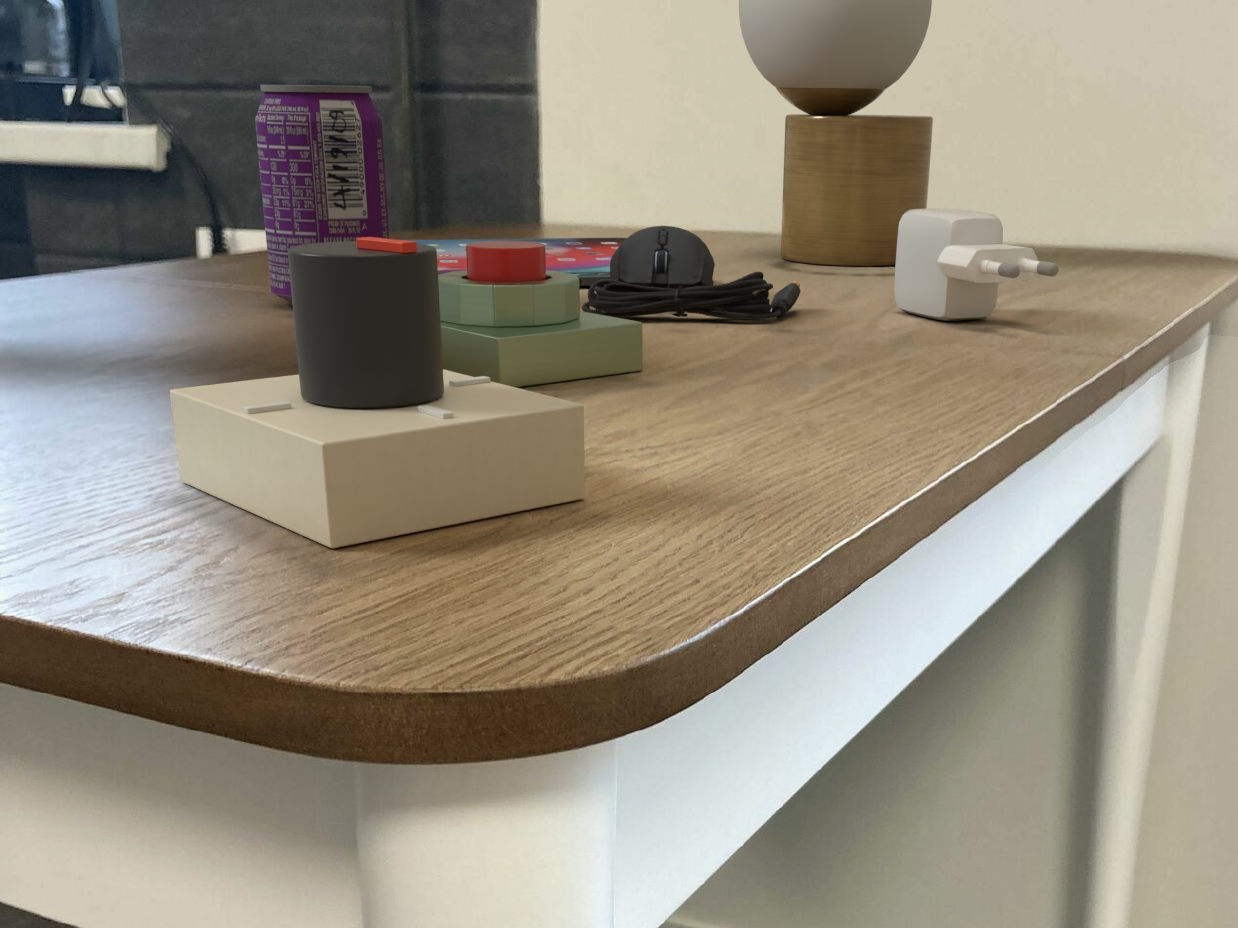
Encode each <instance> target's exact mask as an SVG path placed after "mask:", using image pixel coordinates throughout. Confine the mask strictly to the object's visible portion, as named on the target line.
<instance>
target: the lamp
mask: <svg viewBox="0 0 1238 928" xmlns="http://www.w3.org/2000/svg"><path fill="white" fill-rule="evenodd" d="M932 7H933V0H738V18H739V19H738V20H739V27H740V31H741V35H742V40H743V43H744V46H745V48H746V51H747V53H748V56H749V57H750V59H751V61H752V63H753V65H754V66H755V67H756V69H757V70H758V72H759V73H760V74H761V76H762V77H763V78H764V79H765V80H766V81H767V82H768V83H770V84H771V85H772V86H773V87H774V88H775V89H776V91H777V92H778V93H779V94H780V96H781V97H782V98H783V99H784V100H786V101H787V102H788V103H789V104H791V105H792V106H793V107H794V108H796V109H798V110H799V111H801V112H802V113H797V114H796V113H795V114H794V113H793V114H786V115H785V119H784V120H785V121H784V122H785V123H784V125H785V126H784V147H783V148H784V150H783V152H784V153H783V176H782V177H783V178H782V179H783V180H782V183H783V184H782V203H781V204H782V207H781V235H780V257H781V259H784V260H786V261H789V262H794V263H801V264H802V263H803V264H810V265H822V266H823V265H824V266H839V267H840V266H842V267H889V266H895V265H896V250H897V238H898V228H899V222H900V220H901V217H902V215H903V214H904V213H905V212H907V211H909V210H913V209H928V197H929V185H930V184H929V182H930V171H931V170H930V169H931V158H932V157H931V155H932V144H933V143H932V141H933V127H934V117H933V116H930V115H929V116H928V115H904V114H903V115H899V114H894V115H893V114H855V113H857V112H859V111H861V110H863V109H864V108H866V107H868V106H869V105H871V104H872V103H873V102H875V101H876V100H877V99H878V98H880V97H881V95H883V93H884V92H885V91H886V90H887V89H888V88H890V87H891V86H893V85H894V84H895V83H896V82H897V81H898V80H900V79H901V77H903V75H904V74H905V73H906V72H907V71H908V69H909V68H910V67H911V65H912V64H913V62H914V61H915V59H916V57H917V55H918V54H919V52H920V50H921V48H922V45H923V43H924V41H925V38H926V35H927V32H928V29H929V25H930V20H931V15H932Z"/></svg>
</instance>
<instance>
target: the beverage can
mask: <svg viewBox="0 0 1238 928" xmlns="http://www.w3.org/2000/svg"><path fill="white" fill-rule="evenodd" d="M259 86H260V92H263V95H262V98H261V101H260V104H259V107H258V110H257V112H256V116H255V118H254V119H255V120H254V121H255V122H254V124H255V134H256V135H255V136H256V145H257V156H258V157H257V158H258V167H259V177H260V189H261V199H262V200H261V201H262V210H263V220H264V231H265V240H266V241H265V243H266V251H267V263H268V273H269V283H270V291H271V294H273V295H275V296H276V297H279V298H280V299H282V300H284V301H286V302H287V303H288V304H289V305H291V306H293V303H292V292H291V281H290V270H289V259H288V250H289V248H291V247H294V246H298V245H304V244H312V243H325V242H348V241H356V238H363V237H375V238H385V239H390V227H389V226H390V225H389V212H388V211H389V209H388V195H387V179H386V178H387V177H386V164H385V162H386V161H385V147H384V146H385V145H384V133H383V132H384V131H383V121H382V118H381V117H380V114H379V112H378V110H377V108H376V106H375V104H374V102H373V99H372V98H371V96H370V94H372V92H373V91H372V86H369V85H318V84H317V85H315V84H314V85H313V84H312V85H311V84H260V85H259Z"/></svg>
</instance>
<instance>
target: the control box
mask: <svg viewBox="0 0 1238 928" xmlns="http://www.w3.org/2000/svg"><path fill="white" fill-rule="evenodd" d="M443 381H444V393H443V395H442V396H441V397H439V398H437V399H434V400H431V401H428V402H424V403H419V404H413V405H406V406H397V407H384V408H346V407H333V406H325V405H319V404H315V403H312V402H309V401H306V400H304V399H303V398H302V396H301V391H300V380H299V374H291V375H283V376H282V375H281V376H275V377H273V376H272V377H266V378H257V379H248V380H239V381H232V382H231V381H230V382H223V383H215V384H206V385H198V386H197V385H196V386H190V387H189V386H188V387H180V388H173V389H169V399H170V406H171V414H172V415H171V416H172V422H173V423H172V424H173V430H174V438H175V446H176V454H177V462H178V468H179V477H180V482H181V483H184V484H186V485H188V486H190V487H193V488H194V489H197V490H199V491H202V492H204V493H206V494H208V495H211V496H213V497H215V498H217V499H219V500H222V501H224V502H226V503H229V504H231V505H232V506H234V507H235V506H236V507H237V508H239V509H243V510H245V511H247V512H249V513H251V514H253V515H255V516H258V517H260V518H263V519H264V520H267V521H269V522H271V523H273V524H276V525H278V526H279V527H282V528H285V529H287V530H289V531H291V532H293V533H295V534H298V535H300V536H303V537H305V538H307V539H310V540H311V541H313V542H316V543H319V544H320V545H323V546H325V547H327V548H330V549H338V548H342V547H347V546H348V547H349V546H353V545H358V544H363V543H368V542H373V541H378V540H383V539H388V538H392V537H398V536H404V535H408V534H413V533H417V532H422V531H428V530H434V529H437V528H443V527H448V526H449V527H450V526H454V525H458V524H463V523H468V522H474V521H479V520H485V519H489V518H493V517H498V516H505V515H509V514H513V513H519V512H524V511H529V510H534V509H540V508H544V507H549V506H555V505H561V504H564V503H571V502H574V501H580V500H583V499H585V498H586V474H585V473H586V468H585V467H586V466H585V465H586V464H585V463H586V462H585V460H586V459H585V458H586V457H585V413H584V412H585V407H584V404H582V403H579V402H575V401H571V400H568V399H563V398H559V397H555V396H551V395H547V394H543V393H540V392H537V391H536V392H535V391H531V390H528V389H523V388H521V387H517V388H516V387H512V386H508V385H504V384H500V383H496V382H492V381H490V377H486V376H480V377H472V376H468V375H464V374H460V373H456V372H452V371H448V370H444V369H443Z"/></svg>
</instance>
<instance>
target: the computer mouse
mask: <svg viewBox="0 0 1238 928" xmlns="http://www.w3.org/2000/svg"><path fill="white" fill-rule="evenodd" d="M626 238H627V239H625V240H624V241H623V242H622V243H621V244H620V246H619V247H618V249H617V250H616V251H615V253H614V254H613V256H612V258H611V260H610V280H609V279H601V280H598V281H596V282H595V283H593V284H592V285H590V287H588V291H587V300H588V301H586V302H584V303H583V304H582V306H581V311H583V312H588V313H594V314H599V315H605V316H610V317H616V318H628V317H641V316H649V315H658V314H664V313H672V314H671V315H672V316H674V317H683V318H685V317H686V318H687V317H688V314H697V315H698V314H699V315H704V316H707V317H709V316H710V317H713V318H719V319H729V320H769V319H774V318H775V319H778V320H780V319H783V318H784V317H785V316H786V314H787V313H788V312H789V311H790V310H791V309H792V308H793V306H795V304H796V303H797V301H798V299H799V297H800V294H801V288H800V287H801V284H800V283H799V282H798V280H794V281H792V282H790V283H789V284H787V285H786V286H784V287H783V288H781V289H780V290H778V291H777V292H776V293H775V294H774V296H773V298H772V300H771V302H770V299H769V296H770V292H769V291H770V290H772V289H773V288H774V284H773V283H768V282H767V280H766V279H764V278H765V277H764V276H765V275H764V273H763V272H761V271H754V272H752V273H748V274H746V275H744V276H742V277H740V278H738V279H736V280H732V281H729V282H726V283H722V284H715V283H714V279H713V277H714V270H715V267H716V262H715V259H714V257H713V255H712V252H711V251H710V249H709V247H708V245H707V244H706V243H705V242H704V241H703V240H702V239H701V238H700V237H699V236H698V235H697V234H695V233H693V232H691V231H689V230H687V229H684V228H681V227H678V226H673V225H672V226H671V225H653V226H649V227H645V228H642V229H639V230H637V231H635V232H633V233H632V234H630V235H629V236H627V237H626ZM590 307H591V308H590ZM592 308H594V309H592ZM673 312H674V313H673ZM687 313H688V314H687Z"/></svg>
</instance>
